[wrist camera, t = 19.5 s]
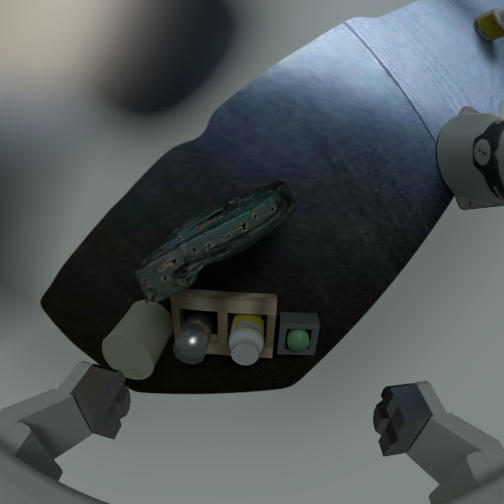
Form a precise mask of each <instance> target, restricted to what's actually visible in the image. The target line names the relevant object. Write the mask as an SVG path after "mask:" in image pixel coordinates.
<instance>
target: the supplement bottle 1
mask: <svg viewBox="0 0 504 504" xmlns="http://www.w3.org/2000/svg"><path fill="white" fill-rule="evenodd" d="M263 345H264V319H263V317H262V315H258V314H241V313H236V314H235V315H234V317H233V320H232V325H231V330H230V336H229V347H230V350H231V356H232V359H233V360H234V361H235V362H236V363H238V364H240V365H251V364H253V363H255V362H256V361H257V359H258V357H259V353H260V352H261V351H262V349H263Z"/></svg>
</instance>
